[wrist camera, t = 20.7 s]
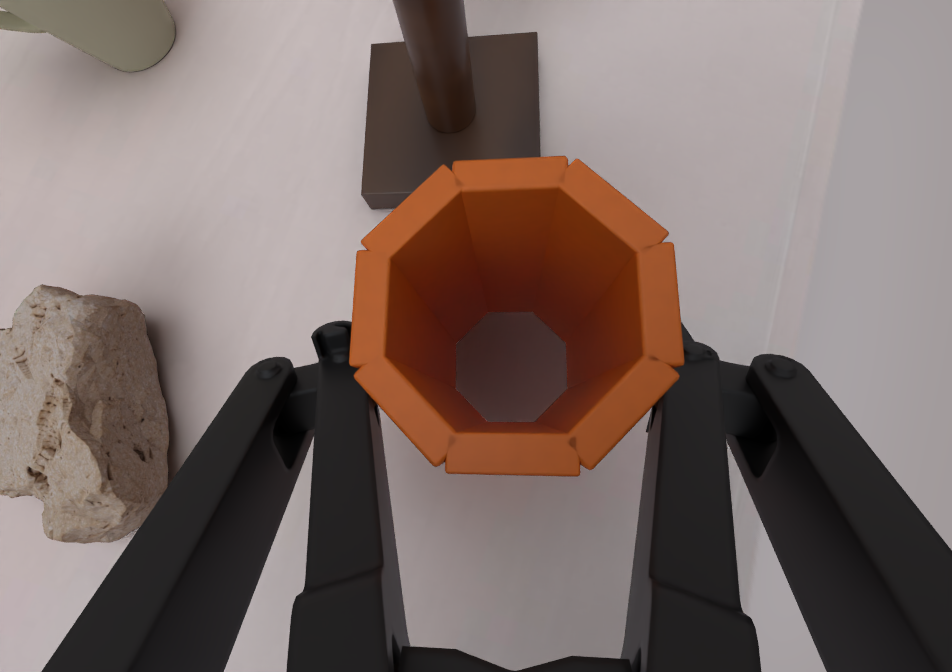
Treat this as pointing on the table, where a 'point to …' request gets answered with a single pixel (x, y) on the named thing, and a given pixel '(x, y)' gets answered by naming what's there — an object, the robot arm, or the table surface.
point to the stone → (82, 414)
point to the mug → (99, 27)
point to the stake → (445, 100)
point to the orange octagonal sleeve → (517, 310)
